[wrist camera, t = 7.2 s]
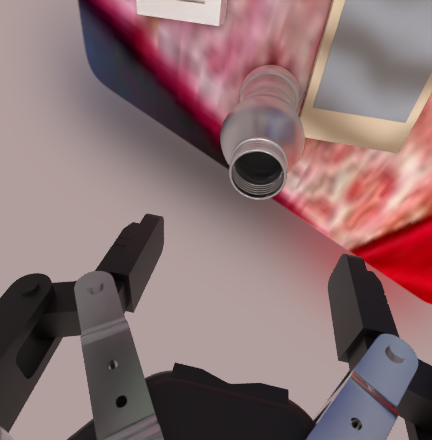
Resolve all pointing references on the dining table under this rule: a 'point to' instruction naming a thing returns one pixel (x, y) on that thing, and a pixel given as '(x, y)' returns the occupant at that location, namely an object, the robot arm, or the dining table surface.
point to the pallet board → (370, 73)
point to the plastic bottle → (263, 132)
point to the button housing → (186, 10)
